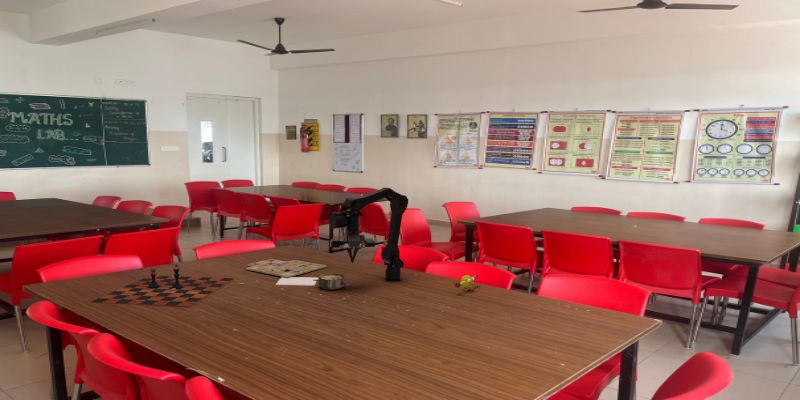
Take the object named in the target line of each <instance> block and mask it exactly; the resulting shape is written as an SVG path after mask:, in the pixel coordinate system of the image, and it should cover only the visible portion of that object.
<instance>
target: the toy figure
mask: <svg viewBox="0 0 800 400" xmlns="http://www.w3.org/2000/svg"><path fill="white" fill-rule="evenodd" d="M477 280H479V275H477V274H474V275H472V276H471V275H469V274H466V275H463V276H462V277H461V280H460V282H459V281H456V282H454V287H455V288H457V289H459V288H460V287H461V286H463V287H464V292H469V291H470V289H469V288H470V287H472V286H473V285H474V281H477Z"/></svg>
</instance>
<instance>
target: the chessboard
mask: <svg viewBox="0 0 800 400" xmlns="http://www.w3.org/2000/svg"><path fill="white" fill-rule="evenodd" d="M174 266H175V267H174V268H173V272H174V274H173V276H172V275H157V273H156V271H157V268H156V267H150V268H149V271H150V274H149V275H148V276H146V277H144V278H143V277H142V279H139V280H137V281H135V282H134V281H133V282H132V283H130V284H128V285H127V284H126V285H125V286H122V287H121V288H119V289H116V290H114V291H112V292H110V293H107V294H105V295H103V296H101V297H99V298H96V299H94V300H91V301H90V303H97V304H112V305H113V304H114V305H115V304H116V305H118V304H119V305H132V306H133V305H134V306H135V305H136V306H150V307H151V306H155V307H169V308H170V307H171V308H191V307H193V306H194V305H196V304H198V303H199V302H201V301H203V300H204V299H205V298H208V297H209V296H211V295H212V294H214V293H215V292H217V291H218V290H220V289H221V288H223V287H225V286H226V285H228V284H229V283H231V282H233V281H234V280H235V278H234V277H233V278H232V277H207V276H202V277H201V276H184V275H183V276H182V275H181V274H180V273H179V271H180V268H179V266H178V264H177V263H176V264H174Z"/></svg>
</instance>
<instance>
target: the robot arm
mask: <svg viewBox="0 0 800 400" xmlns="http://www.w3.org/2000/svg"><path fill="white" fill-rule="evenodd" d="M383 199H386V200H387V201H388V202H389V208H390V211H391V217H390V223H389V228H388V229H389V230H388V235H387V236H388V237H387V242H386V245H385V246H381V252H380V257H381V258H380V259H381V260H382V262H383V265H384V266H386V268H385V279H386V282H401V278H402V277H401V269H402V268H404V265H405V262H404V261H403V260H402V259H401V256H400V255H401V253H400V252H401V251H400V248H399V239H400V234H401V228H402V227H401V226H402V220H403V214H405V212H406V210H408V206H409V198H408V197H407V195H404V194H401V193H399V192H397V191H395V190H393V189H392V188H391V187H385V186H384V187H382V188H380V189H377V190H375V191H372V192H369V193H365V194H363V195H360V196H359V195H358V196H351V197H347V198H345V199H344V203H343V205H342V206H341V208H340V209H339V211H338V212H331V215H330V217H329V219H328V225H329V227H330V229H331V230H335V229H344V228H345V240H341V239H340V238H331V239H330V241H329V242H330V243H329V245H330V248H332V249H334V248H336V249H337V248H338V249H339V248H340V247H341V246H343V249H344V250H346V251H347V253H348V256H349V259H350V263H351V264H353V263H354V261H355V259H356V255H357V253H358V251H359V250H362V246H363V245H364V246H366V247H367V248H374V247H375V246H376V245H375V244H376V243H375V240H374V239H373V238H372V237H371V238H365V237H366V236H365V235H364V234H361V235H360V217H364V216H365V215H364V213H363V212H362V210H363V209H365V208H366V207H367V206H368V205H370V204H373V203H376V202H378V201H380V200H383Z"/></svg>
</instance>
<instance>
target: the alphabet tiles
mask: <svg viewBox="0 0 800 400" xmlns="http://www.w3.org/2000/svg"><path fill="white" fill-rule="evenodd" d="M325 268H327V265H326V264H320V263H313V262H307V261H302V260H299V259H298V260H297V259H293V260H288V261H285V260H279V259H275V258H274V259H273V258H270V259H266V260H261V261H257V262H252V263H247V267H246V269H245V270H246V271H251V272H255V273H256V272H257V273H262V274H267V275H271V276H276V277H280V278H281V277H286V278H288V277H296V276H298V275H303V274H306V273H309V272H313V271H318V270H320V269H321V270H322V269H325Z"/></svg>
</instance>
